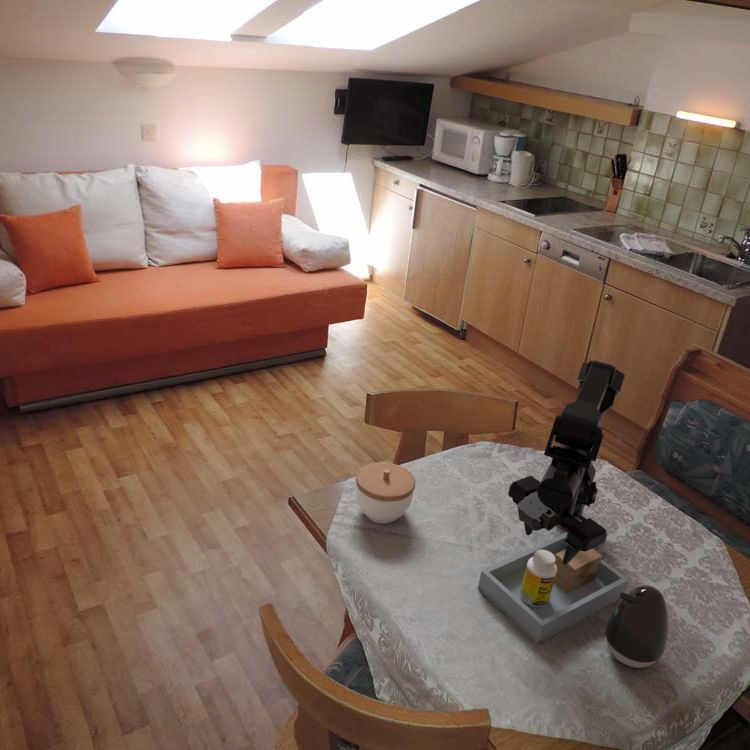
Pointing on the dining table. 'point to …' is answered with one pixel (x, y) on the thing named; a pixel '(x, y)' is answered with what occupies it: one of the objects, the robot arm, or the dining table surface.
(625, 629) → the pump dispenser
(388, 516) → the lidded bowl
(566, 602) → the tray
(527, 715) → the dining table surface
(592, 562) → the walnut box
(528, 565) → the supplement bottle
